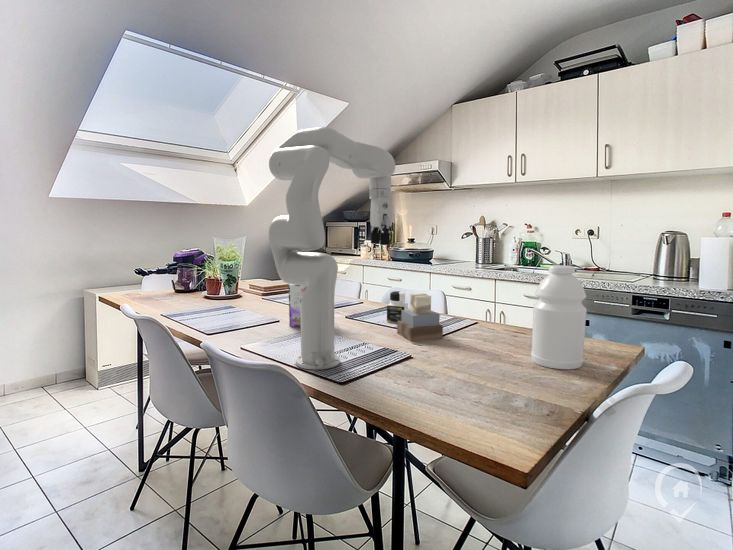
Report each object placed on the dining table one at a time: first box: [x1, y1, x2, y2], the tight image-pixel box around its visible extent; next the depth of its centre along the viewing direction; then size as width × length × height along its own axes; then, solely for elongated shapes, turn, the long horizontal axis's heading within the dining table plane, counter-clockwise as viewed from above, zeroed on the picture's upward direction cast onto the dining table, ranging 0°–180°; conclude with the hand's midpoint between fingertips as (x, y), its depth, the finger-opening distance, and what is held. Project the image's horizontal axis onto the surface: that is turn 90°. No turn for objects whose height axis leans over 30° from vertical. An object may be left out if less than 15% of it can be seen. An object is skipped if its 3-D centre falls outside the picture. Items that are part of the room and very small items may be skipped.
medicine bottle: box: [386, 291, 409, 324], centre depth 180 cm, size 7×7×12 cm
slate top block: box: [401, 309, 441, 327], centre depth 157 cm, size 10×10×4 cm
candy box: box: [288, 284, 307, 328], centre depth 171 cm, size 14×6×16 cm, turn 84°
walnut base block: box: [396, 321, 444, 343], centre depth 157 cm, size 12×12×5 cm
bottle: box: [530, 264, 588, 370], centre depth 127 cm, size 14×14×28 cm
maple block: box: [409, 293, 432, 314], centre depth 156 cm, size 6×6×6 cm
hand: (379, 244), depth 156 cm, fingers open, 9 cm apart
